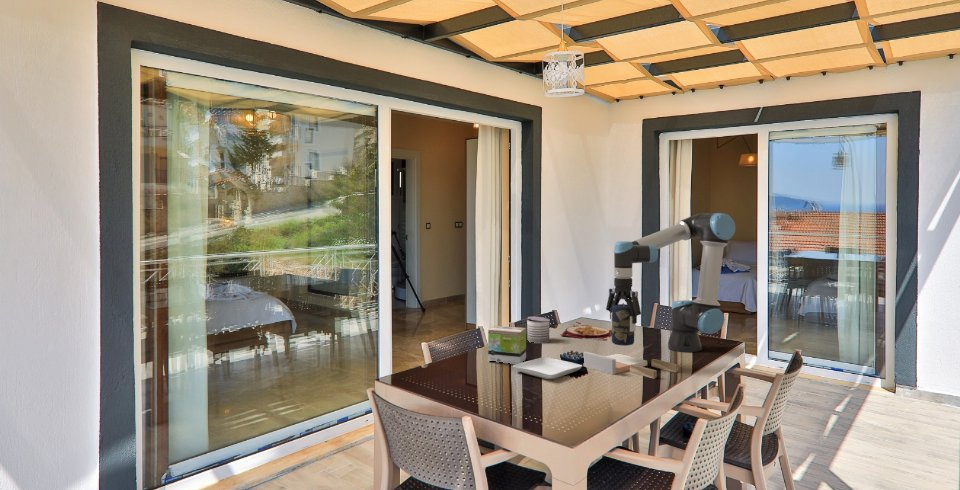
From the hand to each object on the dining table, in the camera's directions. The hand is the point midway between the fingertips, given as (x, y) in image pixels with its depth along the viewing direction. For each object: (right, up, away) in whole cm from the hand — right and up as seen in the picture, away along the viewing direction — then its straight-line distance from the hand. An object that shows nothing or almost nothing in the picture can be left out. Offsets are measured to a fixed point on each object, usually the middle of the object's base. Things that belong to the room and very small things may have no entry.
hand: (623, 329), depth 246 cm
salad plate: (-34, -17, -10) cm, 39 cm away
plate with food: (-3, -12, +63) cm, 64 cm away
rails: (+10, -16, -12) cm, 22 cm away
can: (-32, -13, +47) cm, 58 cm away
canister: (0, -7, 0) cm, 7 cm away
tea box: (-49, -16, +8) cm, 53 cm away
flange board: (-4, -15, -2) cm, 16 cm away
